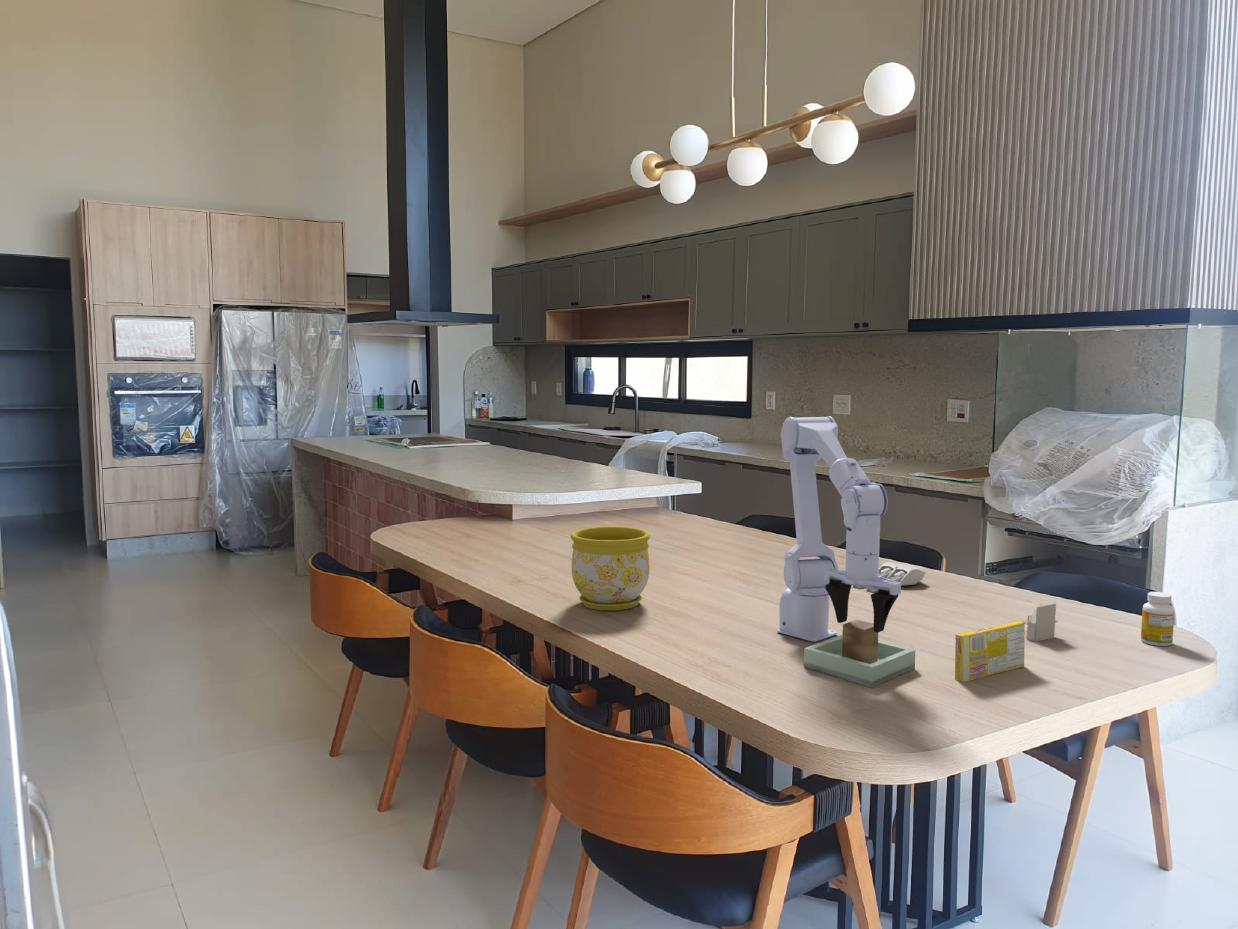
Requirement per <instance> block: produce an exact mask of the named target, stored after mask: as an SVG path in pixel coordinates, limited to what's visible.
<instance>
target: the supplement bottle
mask: <svg viewBox="0 0 1238 929" xmlns="http://www.w3.org/2000/svg"><path fill="white" fill-rule="evenodd" d="M1172 596H1173V595H1171V594H1170V593H1167V592H1162V591H1150V592H1147V598H1146V599H1147V601H1148V602H1146V603H1144V604H1143V605H1142V610H1141V611H1142V614H1141V626H1140V627H1141V629H1140V641H1141V642H1143V643H1145V644H1147V645H1149V646H1157V647H1169V646H1172V645H1173V641H1174V625H1175V612H1176V611H1175V608H1174V607H1173V606H1172V605H1171V603H1172Z"/></svg>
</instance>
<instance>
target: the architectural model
mask: <svg viewBox="0 0 1238 929" xmlns="http://www.w3.org/2000/svg"><path fill="white" fill-rule="evenodd" d="M1056 610H1057V603H1056V602H1055V603H1050V604H1048V603H1043V602H1039V604H1038V605H1037V606H1036V608H1035V610H1034V612H1032V614H1031V615H1027V619H1025V620H1021V622H1023V623H1025V624H1024V625H1027V627H1026V628H1027V630H1026V640H1029V641H1032V642H1040V641H1044V640H1049V639H1054V638H1055V630H1056V629H1055V628H1056V623H1058V622H1059V620H1057V619H1056V613H1057V612H1056Z"/></svg>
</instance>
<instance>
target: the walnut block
mask: <svg viewBox="0 0 1238 929" xmlns="http://www.w3.org/2000/svg"><path fill="white" fill-rule="evenodd" d="M841 635H842V656H843V657H846V658H850V659H853V660H857V661H861V662H864V663H868V664H872V663H874V662H877V661H878V640H879V632H878V633H877V632H874V622H873V623H872V622H869V621H864V620H860V619H854V620H852V621H849V622H846V623H845V622H844V623H842V634H841Z"/></svg>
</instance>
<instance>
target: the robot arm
mask: <svg viewBox="0 0 1238 929" xmlns="http://www.w3.org/2000/svg"><path fill="white" fill-rule="evenodd" d="M838 427H839V426H838V424H837V422H836V421H835V419H834V417H832V416H829V415H827V416H818V417H817V416H812V417H811V416H810V417H809V416H808V417H806V416H805V417H793V416H788V417H786V419H785V420H784V422H783V424H782V428H781V430H780V438H781V449H782V457H783V460H785V461H787V462H789V468H790V480H791V490H792V500H793V503H792V504H793V511H794V512H793V514H794V525H795V534H796V535H795V536H796V544H794V546H792V547H791V548H790V549H789V550H788V551H787V552H786V553H785V554H784V568H783V580H784V584H785V585H786V587H787V588H785V590H783V591H782V593H781V596H780V600H779V624H778V628H777V629H776V632H777V633H778V634H779V633H780V634H783V635H786V636H791V637H794V638H796V639H797V638H798V639H801V640H806V641H809V642H813V643H817V642H818V641H822V640H824V639H828V638H830V637H833V636H836V635H838V632H837V631H835V630H831V629H829V614H830V610H829V609H830V600H831V603H832V605H833V608H834V613H835V618H836V622H837V623H838V624H843V623H845V622H847V620H848V616H849V614H848V613H849V599H850V593H851V590H852V587H853V585H854V586H859V587H863V588H862V589H867V588H868V589H873V590H877V592H873V593H870V598H871V603H872V609H873V624H874V632H877V633H878V634H879V633H880V632H884V630H885V625H886V623H887V620H888V616H889V615H890V614H889V613H890V611H891V610H892V607H893V606H894V604H895V602H897V601H896V600H897V599H898V598H899V595H900V594H901V593H902V586H901V583H900V582H896V581H892V580H889V579H886V578H884V577H881V576H878V572H879V568H880V567H879V566H880V542H881V541H880V537H881V535H880V534H881V517H883V516H884V515H885V514H887V510H888V505H889V503H888V502H889V501H888V500H889V499H888V494H887V491H886V489H885V488H884V486H883V484H881V483H876V481H870V478H869V477H868V476H867V475H866V473H865V472H864V470H863V469H862V467H861V466H860V464H859V463H858V461H857V460H856V459H855V458H851V457H847V455H846V453H845V451H844V449H843V448H842V447H843V446H841V443H840V442H839V440H838V436H839V428H838ZM820 460H823V461H824V462H825V463H826V464H827V465H828V467H829V471H828V477H829V479H830V481H831V482H832V484H833V486H834V487H835V489H836V490H837V492H838V493H839V496H841V499H840V505H841V510H842V513H843V514H842V515H843V523H844V526H845V527H846V538H845V539H846V540H845V545H846V546H845V569H839V566H838V564H837V560H836V555H835V551H834V550H833V549H831V548H830V547H829V546H827V545H826V544H825V543H824V542H823V537H822V536H823V535H822V526H821V516H820V507H819V506H820V504H819V494H818V484H817V472H816V464H817V462H819V461H820ZM814 557H815V558H814ZM802 558H806V559H802Z"/></svg>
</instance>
